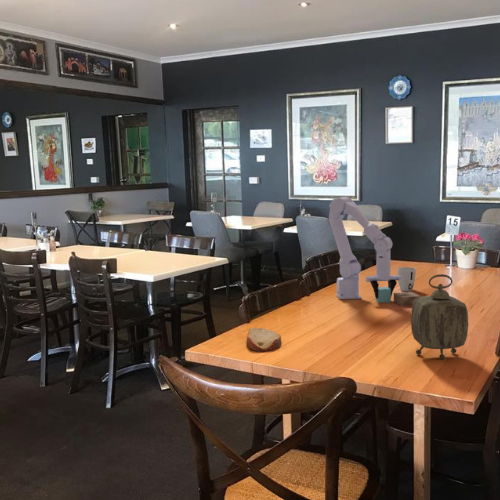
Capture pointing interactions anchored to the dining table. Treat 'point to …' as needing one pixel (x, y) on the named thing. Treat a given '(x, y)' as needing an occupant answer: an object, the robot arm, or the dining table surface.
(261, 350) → the slice of bread
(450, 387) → the dining table surface
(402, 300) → the brown block
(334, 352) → the dining table surface
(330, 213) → the robot arm
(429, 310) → the tabletop clock
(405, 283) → the cup
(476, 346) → the dining table surface
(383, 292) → the teal block
